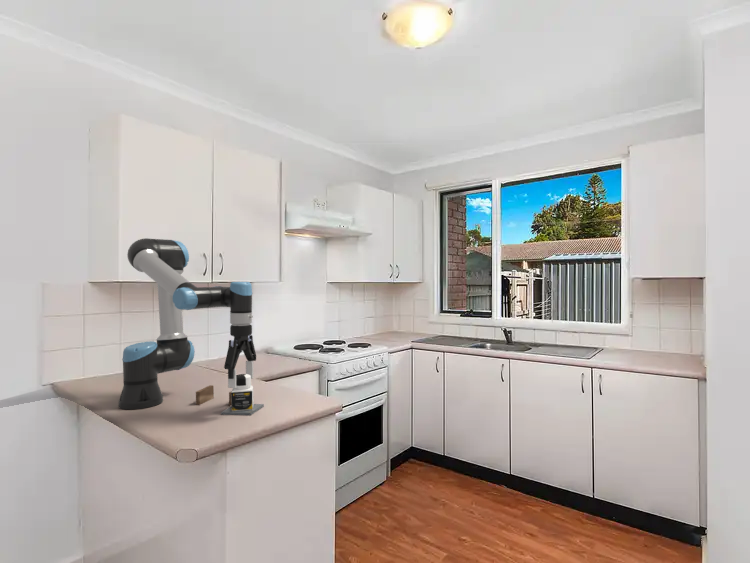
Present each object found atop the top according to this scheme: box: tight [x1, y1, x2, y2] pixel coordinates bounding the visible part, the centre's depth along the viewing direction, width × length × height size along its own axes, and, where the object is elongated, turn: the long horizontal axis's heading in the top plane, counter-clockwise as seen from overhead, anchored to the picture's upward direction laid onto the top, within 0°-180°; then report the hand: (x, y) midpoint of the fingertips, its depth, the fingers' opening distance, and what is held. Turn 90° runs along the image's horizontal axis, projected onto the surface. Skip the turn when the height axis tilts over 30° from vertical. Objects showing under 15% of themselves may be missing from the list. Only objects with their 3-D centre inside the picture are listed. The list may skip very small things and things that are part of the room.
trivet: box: [220, 403, 265, 416], centre depth 159 cm, size 11×11×1 cm
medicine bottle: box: [230, 373, 255, 411], centre depth 159 cm, size 7×7×12 cm
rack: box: [195, 385, 232, 407], centre depth 171 cm, size 15×10×5 cm, turn 81°
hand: (241, 382), depth 159 cm, fingers open, 13 cm apart
